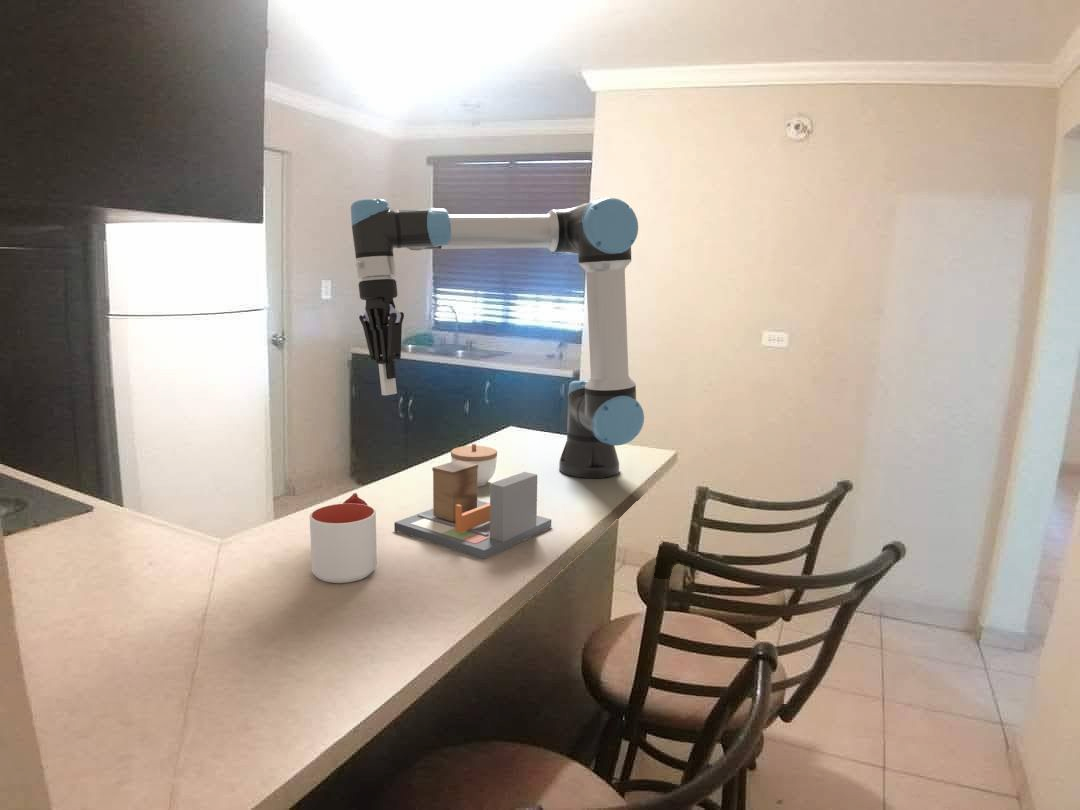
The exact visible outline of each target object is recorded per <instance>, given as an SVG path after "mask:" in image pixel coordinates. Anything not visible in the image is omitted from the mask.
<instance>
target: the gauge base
mask: <svg viewBox="0 0 1080 810" xmlns="http://www.w3.org/2000/svg"><path fill="white" fill-rule="evenodd" d="M488 503H490V521H488V522H486V523H483V524H481V525H478V526H476V527H474V528H471V529H469V530H466V531H464V532H461V533H457V532H455V530H456V521H453V522H452V521H449V520H445V519H442V518H439V517H435V516H433V508H431V509H427V510H425V511H422V512H420V513H416V514H414V515H411V516H409V517H406V518H403V519H399V520H397V521H395V522H394V524H393V525H394V527H393V528H394V531H395V532H399V533H402V534H405V535H408V536H409V537H414V538H417V539H420V540H423V541H427V542H430V543H433V544H434V545H435V544H437V545H439V546H442V547H445V548H449V549H452V550H453V551H454V550H455V551H457V552H461V553H464V554H467V555H470V556H473V557H476V558H479V559H483V560H486V559H488V558H490V557H492V556H495V555H497V554H498V553H500V552H501V553H502V551H505V550H507V549H509V548H511V547H513V546H515V545H517V544H520V543H521V541H522V542H524V541H526V540H527V538H528V539H529V537H530V538H531V537H534V536H536V535H538V534H540V533H542V532H544V530H545V531H547V530H549V529H551V528H552V518H548V517H543V516H539V515H537V513H538V511H537V508H538V474H537V473H532V472H527V471H524V472H520V473H517V474H514V475H511V476H508V477H506V478H503V479H500V480H497V481H494V482H491V483H490V484H489V502H485V501H483V500H479V499H477V508H478V507H480V506H483V505H486V504H488ZM550 527H551V528H550ZM546 529H547V530H546ZM533 535H534V536H533ZM525 539H526V540H525ZM523 540H524V541H523Z"/></svg>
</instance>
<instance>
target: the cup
mask: <svg viewBox="0 0 1080 810" xmlns="http://www.w3.org/2000/svg"><path fill="white" fill-rule="evenodd" d="M367 505H368V504H367ZM367 505H363V504H353V503H345V504H343V503H336V504H329V505H325V506H321V507H319V508H317V509H315V510H313V511H312V512H311V513H310V514H309V528H310V529H309V530H310V531H309V532H310V556H311V558H310V559H311V561H310V562H311V570H312V573H313V575H314V576H315V577H316V578H317V579H318V580H321V581H323V582H326V583H330V584H331V583H333V584H343V583H344V584H346V583H351V582H357V581H360V580H362V579H365V578H367V577H368V576H370V575H371V574H372V573H373V572H374V571H375V568H376V567H377V564H378V563H377V562H378V560H377V559H378V558H377V554H378V553H377V516H376V515H377V513H376V512H377V511H376V509H374V507H371V506H370V505H368V506H367Z"/></svg>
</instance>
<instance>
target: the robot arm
mask: <svg viewBox="0 0 1080 810" xmlns="http://www.w3.org/2000/svg"><path fill="white" fill-rule="evenodd" d="M350 219H351V230H352V238H353V239H352V240H353V246H354V254H355V255H354V256H355V260H356V261H355V262H356V263H355V266H356V270H357V271H356V272H357V278H358V279H360V280H361V281H359V283H358V292H359V293H358V294H359V298H360V300H362V301H365V308H364V310H365V312H364V313H363V314H360V315H359V317H358V318H359V321H360V323H361V325H362V328H363V329H362V330H363V332H364V333H363V334H364V337H365V341H366V346H367V349H368V353H369V357H370V360H371V361H375V363H376V364H377V366H378V367H377V368H378V374H379V375H378V376H379V380H380V381H379V382H380V391H381V396H390V395H396V394H397V393H398V392H397V382H396V368H395V363H396V362H397V360H401V357H402V335H403V334H402V332H403V331H402V328H403V321H404V319H405V318H404V317H405V314H404V312H403V311H402V312H400V311H398V310H397V309H396V305H395V302H394V299H395V298H397V297H398V294H399V293H398V284H397V280H396V279H395V278H394V277H396V275H397V273H396V267H395V266H396V265H395V256H394V249H403V248H404V249H405V248H406V249H408V250H411V251H421V250H444V249H445V250H453V249H454V250H455V249H456V250H457V249H458V250H459V249H460V250H461V249H462V250H463V249H468V250H469V249H530V248H532V249H533V248H534V249H537V248H539V249H540V248H541V249H544V248H545V249H548V250H549V251H550V252H551V253H570V254H578V255H577V256H578V265H579V266H580V268H582V269H583V270H584V271H585V279H586V280H585V281H586V282H585V283H586V301H587V303H586V304H587V323H588V343H589V345H588V346H589V365H590V379H589V380H572V381H571V382H570V383H569V385H568V392H567V422H566V423H567V424H566V426H567V428H566V430H567V431H566V432H567V433H566V442H565V444H564V447H563V450H562V453H561V455H560V457H559V463H558V465H559V467H558V468H559V469H558V470H559V471H560V472H561V473H562V474H565V475H568V476H570V477H576V478H583V479H584V478H586V479H600V478H601V479H602V478H610V477H614V476H617V475H618V474H619V473H620V461H619V458H618V454H617V450H616V447H615V446H622V445H626V444H628V443H630V442H632V441H633V440H634V439H636V437H637V436H638V435H639V434H640V433H641V431H642V429H643V428H644V427H643V426H644V423H645V412H644V410H643V408H642V405H641V404H640V403H639V401H638V400H637V389H636V387H637V385H636V382H635V381H634V380H633V379H631V378H630V376H629V353H628V352H629V351H628V348H629V347H628V326H627V325H628V323H627V297H626V268H627V267H628V266H629V265H630V263H632V246H633V244H634V243H635V242H636V239H637V236H638V233H639V222H638V217H637V215H636V213H635V211H634V210H633V208H632V207H631V206H630V205H629V204H628V203H626V202H625V201H623V200H622V199H620V198H615V197H601V198H597V199H594V200H593V201H590V202H586V203H582V204H581V205H578V206H574V207H570V208H562V209H551V210H549V211H548V212H547V213H541V214H539V213H537V214H536V213H535V214H533V213H532V214H531V213H528V214H526V213H524V214H521V213H520V214H519V213H517V214H514V213H512V214H511V213H510V214H508V213H507V214H502V213H501V214H497V213H496V214H493V213H492V214H449V211H448V210H447V209H445V208H435V207H430V208H413V209H390V207H389V202H388V201H387V200H386V199H381V198H365V199H360V200H356V201H354V202H352V204H351V205H350Z"/></svg>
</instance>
